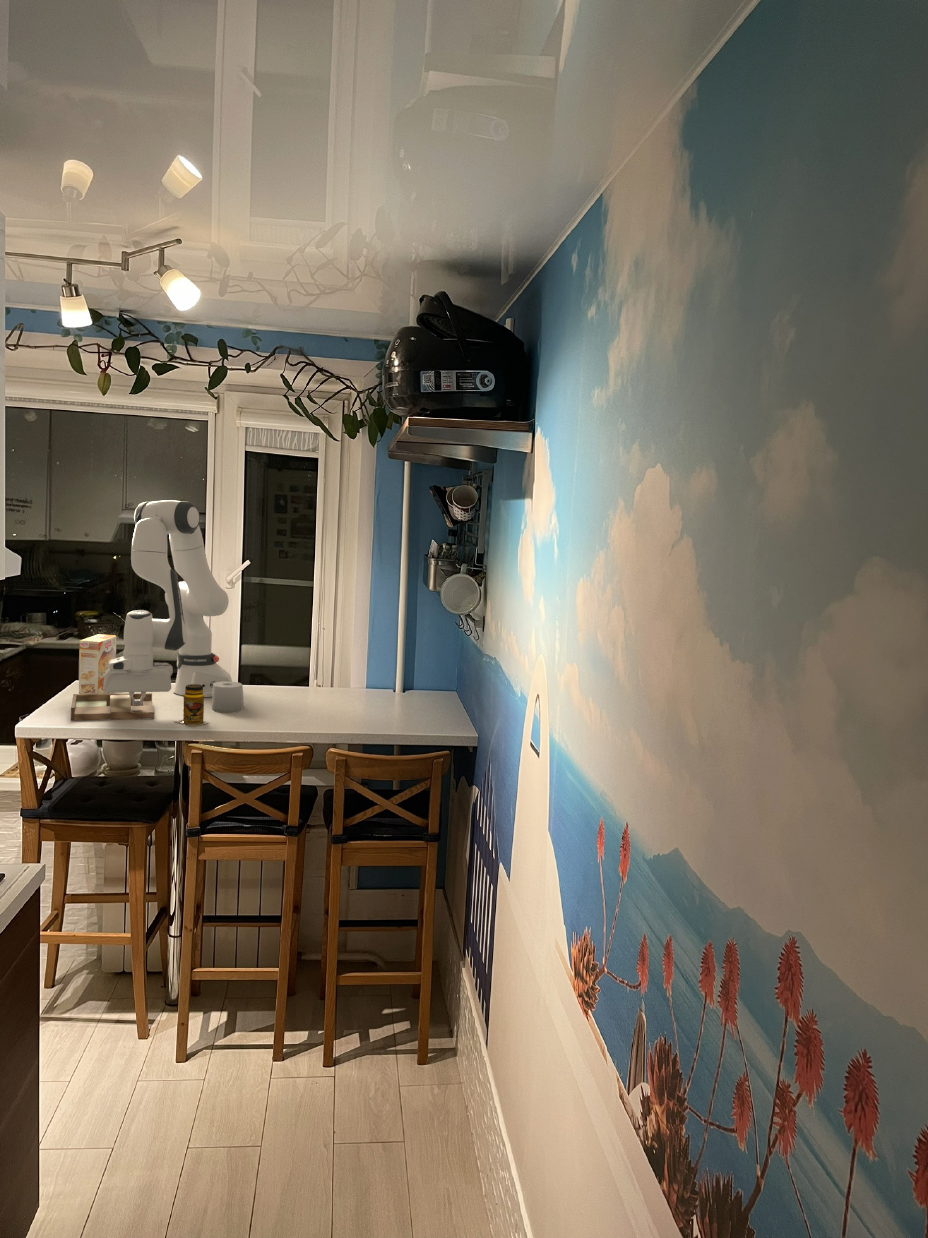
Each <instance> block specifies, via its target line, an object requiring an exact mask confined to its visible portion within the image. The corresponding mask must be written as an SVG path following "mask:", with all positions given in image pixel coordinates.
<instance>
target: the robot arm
mask: <svg viewBox="0 0 928 1238" xmlns="http://www.w3.org/2000/svg"><path fill="white" fill-rule="evenodd" d="M133 519H134V524H135V527H134V532H133V535H132V536H133V537H132V541H131V549H130V550H131V551H130V553H131V554H130V560H131V561H130V562H131V564H130V565H131V568H132V570H133V572H134V573H135V574H136V575H137V576H138V577H140V578H141V579H143V580H145V581H147V582H150V583H153V584H155V585H157V586H158V587H161V589H163V590H164V592H165V593H164V600H165V604H166V605H167V607H168V615H169V618H167V619H165V618H163V619H162V618H153V614H152V613H151V612H150V611H149V610H144V609H138V610H132V611H129V612H128V613H126V617H125V622H124V627H123V642H124V650H123V655H122V656H120V657H116V658H115V659H112V660H110V661H109V662H108V667H109V668H108V669H107V671H106V673H105V677H104V685H103V690H104V691H105V692H107V693H108V694H111V693H129V696H130V698H131V699H132V701H133V703H132V704H133V706H142V701H143V699H144V698H145V696H146V693H162V692H163V693H166V692H168V693H169V692H170V691H171V690H172V679H171V677H172V675H173V673H174V671H173V669H174V667H173V666H172V665H171V664H170V663H169V662H154V650H153V649H160V650H167V651H172V652H173V651H174V652H175V651H177V650H178V652H177V657H176V667H177V674H176V679H175V683H174V687H173V690H172V692H173V693H174V694H176V695H180V696H184V694H185V689H186V688H185V687H186V686H187V685H190V684H198V685H202V686H203V694H204V698H209V697H210V698H212V694H213V684H214V683H216V682H222V681H231V682H233V678H232V676H231V674H230V673H229V672H228V671H226V669H224V668H223V667H222V666H221V665H220V664H218V662H219V661H220V658H219V656H218V655H217V654H215V653H213V652H212V644H213V643H212V640H213V639H212V638H213V637H212V636H213V633H212V630H211V629H210V627H209V626H208V625H207V624H206V622H205V620H204V617H217V616H221V615H223V614H224V613H225V612H226V611H227V609H228V607H229V602H230V599H229V596H228V593H227V591H225V589H223V588H222V587H221V586H220V584H219V583H218V582H217V580H216V579H215V577H214V575H213V573H212V571H211V569H210V567H209V564H208V560H207V555H206V554H207V553H206V549H205V544H204V537H203V533H202V531H201V528H200V521H201V514H200V511H199V509H198V508H197V506H196V505H195V504H194V503H193V502H191V501H190V502H189V501H185V500H182V501H180V500H171V499H170V500H168V499H167V500H165V499H164V500H155V501H150V500H149V501H145V502H144V501H143V502H141V503H139V504H138V505H137V507H136V508H135V510H134V514H133ZM168 535H169V537H168ZM168 538H169V545H170V546H169V545H168ZM168 546H169V547H170V551H171V557H172V563H173V566H174V567H173V568H174V569H172V567H171V565H170V564H169V560H168V549H169V547H168ZM178 575H179V576H180V577H181V578H182V579H183V581H179V577H178ZM134 693H141V695H142V696H141V698H140V699H134V697H133V695H134Z"/></svg>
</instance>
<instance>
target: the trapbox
mask: <svg viewBox="0 0 928 1238" xmlns="http://www.w3.org/2000/svg"><path fill="white" fill-rule="evenodd" d="M110 695H129V692H123V693H108V694H79V693H74V694H73V695H72V699H71V706H70V721H100V720H101V721H103V720H102V719H111V720H138V719H139V720H140V719H141V720H142V719H143V718H153V719H155V712H154V711H155V710H154V705H153V692H146V696H145V698H144V699H143V701H142V706H133V704H132V703H133V701H132V699H131V712H110ZM141 696H142V695H141V692H134V695H133V697H134V699H140V698H141ZM143 720H144V719H143Z"/></svg>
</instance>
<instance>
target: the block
mask: <svg viewBox="0 0 928 1238" xmlns="http://www.w3.org/2000/svg"><path fill="white" fill-rule="evenodd" d="M110 712H131V698H130V696H129V695H110Z"/></svg>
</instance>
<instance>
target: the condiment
mask: <svg viewBox="0 0 928 1238" xmlns="http://www.w3.org/2000/svg"><path fill="white" fill-rule="evenodd" d="M185 688H186V689H185V694H184V695H183V710H182V711H183V715H182V717H183V719H178V720H174V721H173V723H174V722H175V723H177V724H181V725H183V726H187V727H190V728H191V727H198V726H202V725H205V724H210V721H205V720H204V719H205V718H204V712H205V711H204V710H205V708H204V707H205V697H204V694H203V686H202V685H198V684H190V685H187V686H186V687H185ZM182 721H184V723H180V722H182ZM184 724H185V725H184Z"/></svg>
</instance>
